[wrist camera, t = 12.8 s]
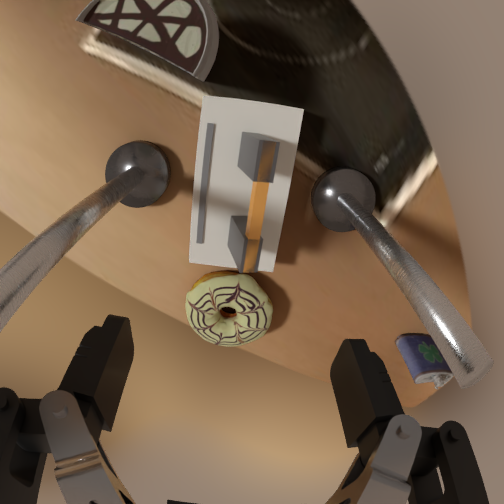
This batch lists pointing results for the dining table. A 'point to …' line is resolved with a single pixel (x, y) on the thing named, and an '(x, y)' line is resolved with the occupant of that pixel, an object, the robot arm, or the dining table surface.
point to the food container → (161, 29)
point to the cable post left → (85, 219)
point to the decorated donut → (228, 295)
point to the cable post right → (400, 269)
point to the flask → (424, 359)
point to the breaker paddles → (253, 199)
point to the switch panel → (238, 176)
